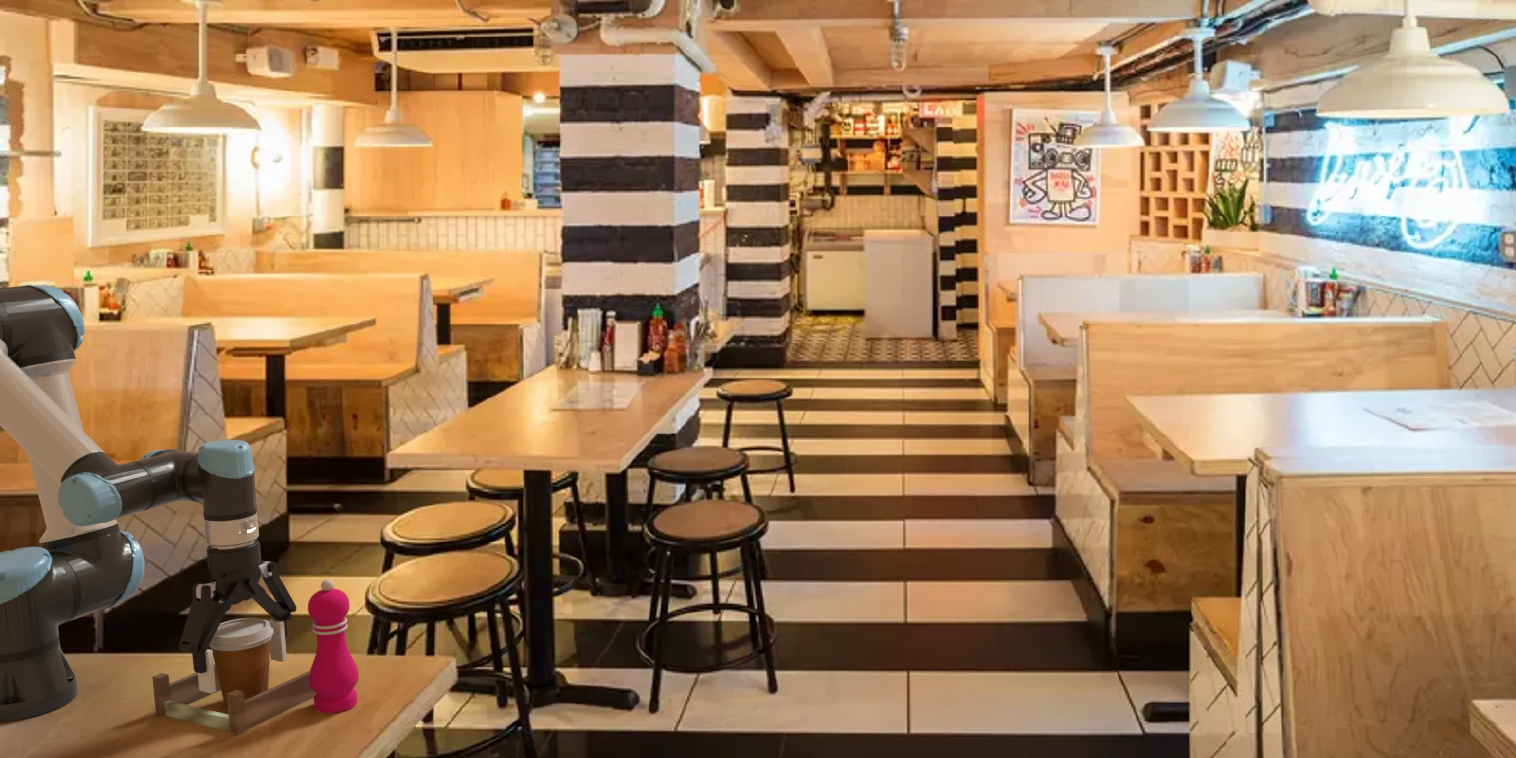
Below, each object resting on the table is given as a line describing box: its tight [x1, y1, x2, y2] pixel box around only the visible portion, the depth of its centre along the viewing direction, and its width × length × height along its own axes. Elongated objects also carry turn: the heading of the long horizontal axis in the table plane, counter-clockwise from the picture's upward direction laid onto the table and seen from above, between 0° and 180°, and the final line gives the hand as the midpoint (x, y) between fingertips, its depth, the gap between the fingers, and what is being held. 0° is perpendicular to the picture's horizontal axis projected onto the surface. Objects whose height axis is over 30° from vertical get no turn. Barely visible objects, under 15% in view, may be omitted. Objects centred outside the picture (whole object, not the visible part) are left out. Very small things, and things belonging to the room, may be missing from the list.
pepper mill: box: [307, 579, 360, 714], centre depth 192 cm, size 7×7×20 cm
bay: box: [151, 664, 317, 736], centre depth 196 cm, size 18×20×6 cm
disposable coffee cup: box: [209, 617, 274, 709], centre depth 195 cm, size 10×10×12 cm
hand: (244, 675), depth 195 cm, fingers open, 13 cm apart
